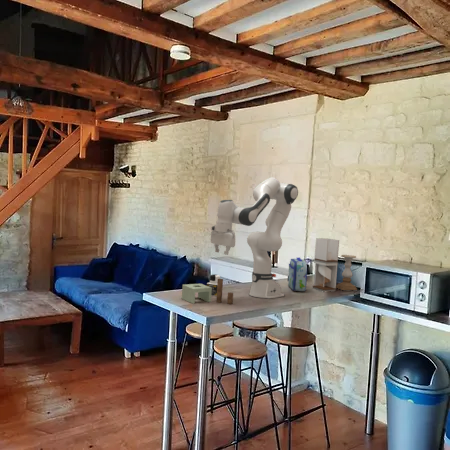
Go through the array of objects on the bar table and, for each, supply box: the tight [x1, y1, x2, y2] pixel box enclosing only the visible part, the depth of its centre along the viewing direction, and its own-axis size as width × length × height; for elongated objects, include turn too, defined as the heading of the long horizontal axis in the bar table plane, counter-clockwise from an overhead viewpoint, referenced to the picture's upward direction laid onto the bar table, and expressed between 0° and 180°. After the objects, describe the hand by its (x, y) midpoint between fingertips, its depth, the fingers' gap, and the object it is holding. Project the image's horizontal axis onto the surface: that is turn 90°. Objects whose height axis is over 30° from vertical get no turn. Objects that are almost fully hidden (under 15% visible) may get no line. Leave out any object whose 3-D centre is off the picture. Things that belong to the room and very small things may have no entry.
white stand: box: [311, 237, 340, 293], centre depth 305 cm, size 11×11×35 cm
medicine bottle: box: [206, 273, 221, 297], centre depth 268 cm, size 7×7×12 cm
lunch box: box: [287, 257, 308, 292], centre depth 302 cm, size 26×11×21 cm, turn 178°
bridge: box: [181, 283, 212, 305], centre depth 250 cm, size 12×12×8 cm
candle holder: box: [336, 254, 358, 291], centre depth 312 cm, size 11×11×24 cm
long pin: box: [215, 278, 224, 304], centre depth 248 cm, size 3×3×13 cm
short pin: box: [226, 292, 234, 305], centre depth 247 cm, size 3×3×6 cm
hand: (221, 253), depth 248 cm, fingers open, 8 cm apart
